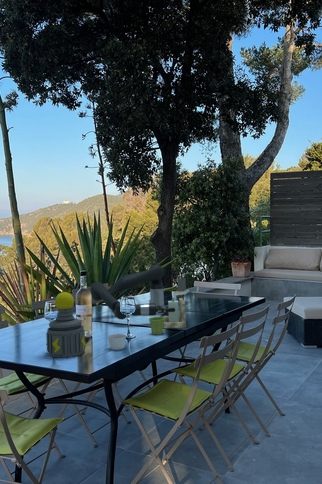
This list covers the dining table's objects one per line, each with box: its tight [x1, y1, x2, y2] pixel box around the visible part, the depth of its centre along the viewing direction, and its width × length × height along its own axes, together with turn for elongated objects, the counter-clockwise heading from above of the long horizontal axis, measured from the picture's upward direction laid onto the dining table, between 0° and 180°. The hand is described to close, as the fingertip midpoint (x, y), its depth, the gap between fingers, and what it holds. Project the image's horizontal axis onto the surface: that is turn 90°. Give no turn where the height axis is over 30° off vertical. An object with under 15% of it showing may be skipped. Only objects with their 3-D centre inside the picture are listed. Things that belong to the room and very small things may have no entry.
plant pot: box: [148, 316, 165, 336], centre depth 277 cm, size 9×9×9 cm
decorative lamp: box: [45, 291, 86, 359], centre depth 240 cm, size 19×19×30 cm
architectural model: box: [172, 277, 190, 306], centre depth 374 cm, size 38×25×20 cm, turn 165°
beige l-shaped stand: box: [162, 298, 187, 329], centre depth 302 cm, size 13×23×14 cm, turn 2°
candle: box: [107, 333, 127, 351], centre depth 247 cm, size 9×9×6 cm
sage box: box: [167, 297, 180, 323], centre depth 302 cm, size 6×5×16 cm
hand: (174, 308), depth 302 cm, fingers open, 8 cm apart
